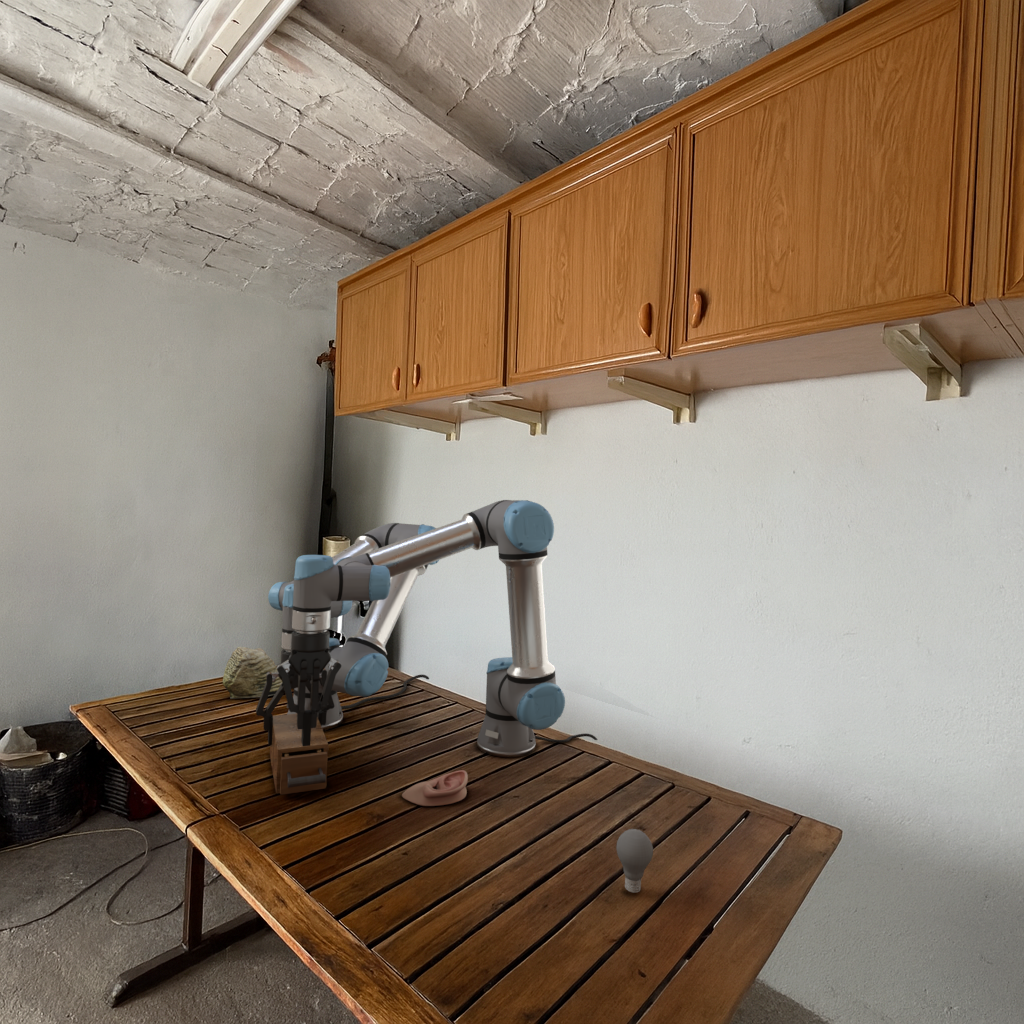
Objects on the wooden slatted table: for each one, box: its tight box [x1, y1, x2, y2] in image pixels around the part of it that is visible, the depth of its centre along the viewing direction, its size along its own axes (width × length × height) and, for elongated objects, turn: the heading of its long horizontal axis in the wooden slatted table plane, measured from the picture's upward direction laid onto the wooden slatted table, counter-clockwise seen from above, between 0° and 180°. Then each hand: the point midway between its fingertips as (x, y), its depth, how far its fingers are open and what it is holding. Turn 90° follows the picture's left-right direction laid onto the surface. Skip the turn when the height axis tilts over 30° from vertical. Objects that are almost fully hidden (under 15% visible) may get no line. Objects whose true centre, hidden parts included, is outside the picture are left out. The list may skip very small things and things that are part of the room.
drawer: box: [279, 749, 328, 796], centre depth 140 cm, size 26×9×8 cm, turn 24°
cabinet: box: [269, 713, 329, 794], centre depth 146 cm, size 22×10×10 cm, turn 24°
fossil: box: [222, 646, 282, 699], centre depth 198 cm, size 9×18×15 cm, turn 132°
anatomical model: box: [401, 769, 469, 807], centre depth 137 cm, size 13×4×12 cm
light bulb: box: [615, 828, 654, 894], centre depth 106 cm, size 6×6×10 cm
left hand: (294, 740), depth 152 cm, fingers closed on cabinet, 10 cm apart
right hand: (305, 743), depth 131 cm, fingers closed
